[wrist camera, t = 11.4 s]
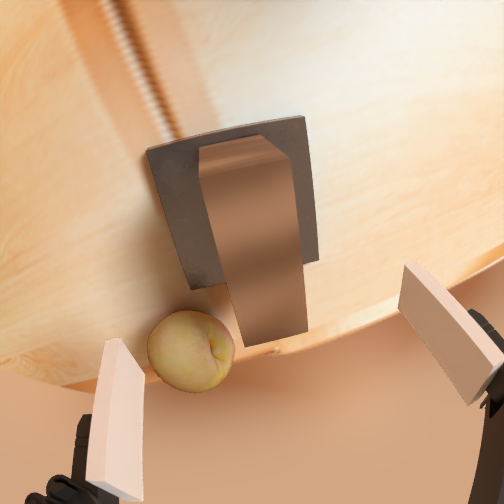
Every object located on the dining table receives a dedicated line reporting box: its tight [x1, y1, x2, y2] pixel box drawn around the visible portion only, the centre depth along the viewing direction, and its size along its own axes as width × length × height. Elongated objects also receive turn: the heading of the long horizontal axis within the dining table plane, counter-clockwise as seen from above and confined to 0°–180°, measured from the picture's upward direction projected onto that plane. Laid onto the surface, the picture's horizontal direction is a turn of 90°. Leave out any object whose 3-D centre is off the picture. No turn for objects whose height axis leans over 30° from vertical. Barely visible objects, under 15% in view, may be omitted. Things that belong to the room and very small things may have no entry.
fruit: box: [147, 310, 235, 393], centre depth 27 cm, size 8×8×8 cm
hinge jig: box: [146, 115, 319, 290], centre depth 24 cm, size 12×13×4 cm
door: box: [199, 135, 308, 347], centre depth 21 cm, size 12×4×8 cm, turn 10°
